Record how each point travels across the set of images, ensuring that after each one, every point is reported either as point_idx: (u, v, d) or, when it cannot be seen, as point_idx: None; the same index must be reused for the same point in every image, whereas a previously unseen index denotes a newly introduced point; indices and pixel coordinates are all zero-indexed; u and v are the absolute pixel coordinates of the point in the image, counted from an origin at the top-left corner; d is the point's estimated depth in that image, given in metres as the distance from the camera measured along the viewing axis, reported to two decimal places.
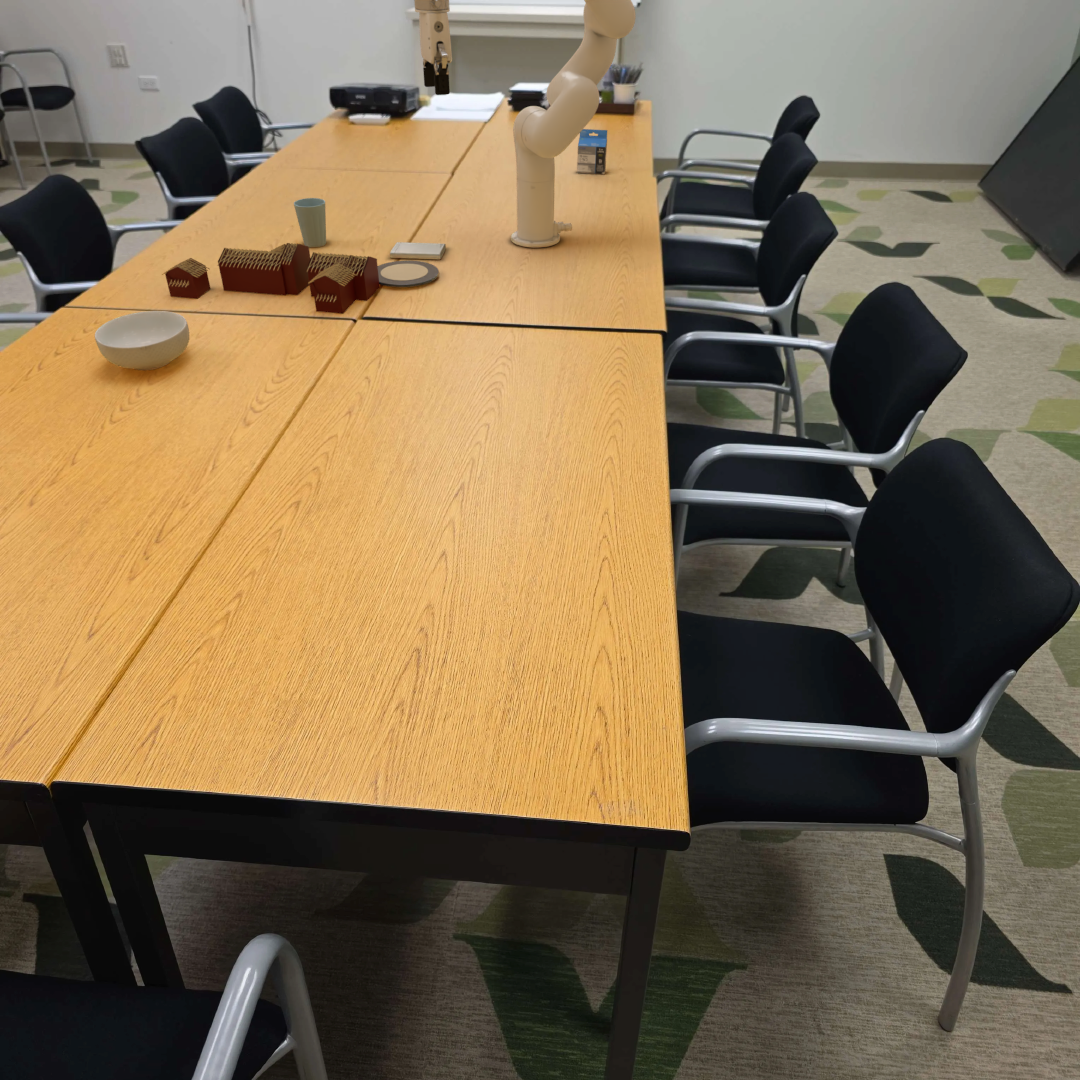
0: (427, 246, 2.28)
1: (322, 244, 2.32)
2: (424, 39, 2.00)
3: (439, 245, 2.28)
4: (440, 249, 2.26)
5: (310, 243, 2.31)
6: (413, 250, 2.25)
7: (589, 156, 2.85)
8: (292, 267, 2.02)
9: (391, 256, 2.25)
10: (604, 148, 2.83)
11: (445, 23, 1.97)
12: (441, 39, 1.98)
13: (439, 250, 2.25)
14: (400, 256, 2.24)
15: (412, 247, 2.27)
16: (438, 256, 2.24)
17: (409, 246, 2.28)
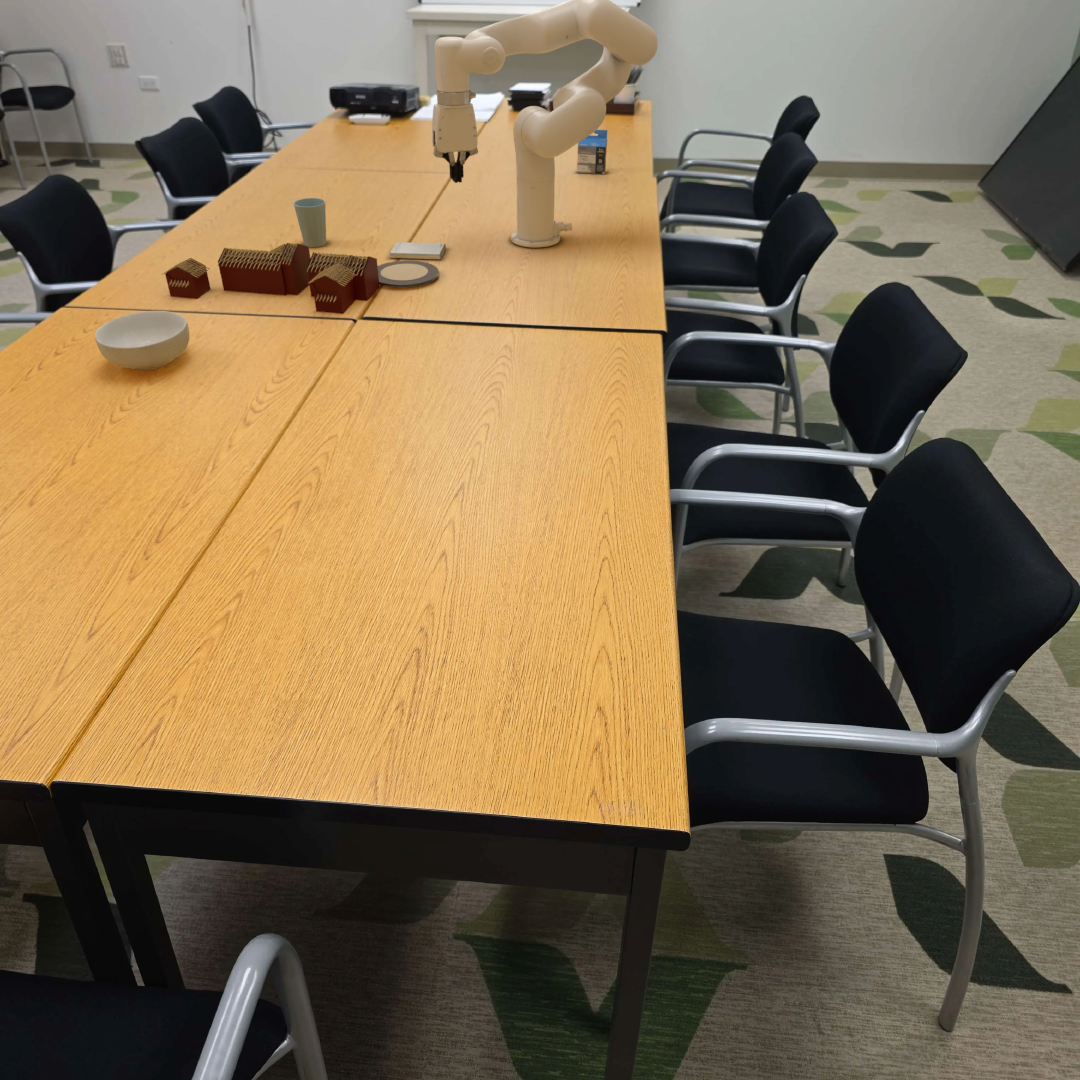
0: (427, 246, 2.28)
1: (322, 244, 2.32)
2: (462, 131, 2.13)
3: (439, 245, 2.28)
4: (440, 249, 2.26)
5: (310, 243, 2.31)
6: (413, 250, 2.25)
7: (589, 156, 2.85)
8: (292, 267, 2.02)
9: (391, 256, 2.25)
10: (604, 148, 2.83)
11: None
12: None
13: (439, 250, 2.25)
14: (400, 256, 2.24)
15: (412, 247, 2.27)
16: (438, 256, 2.24)
17: (409, 246, 2.28)
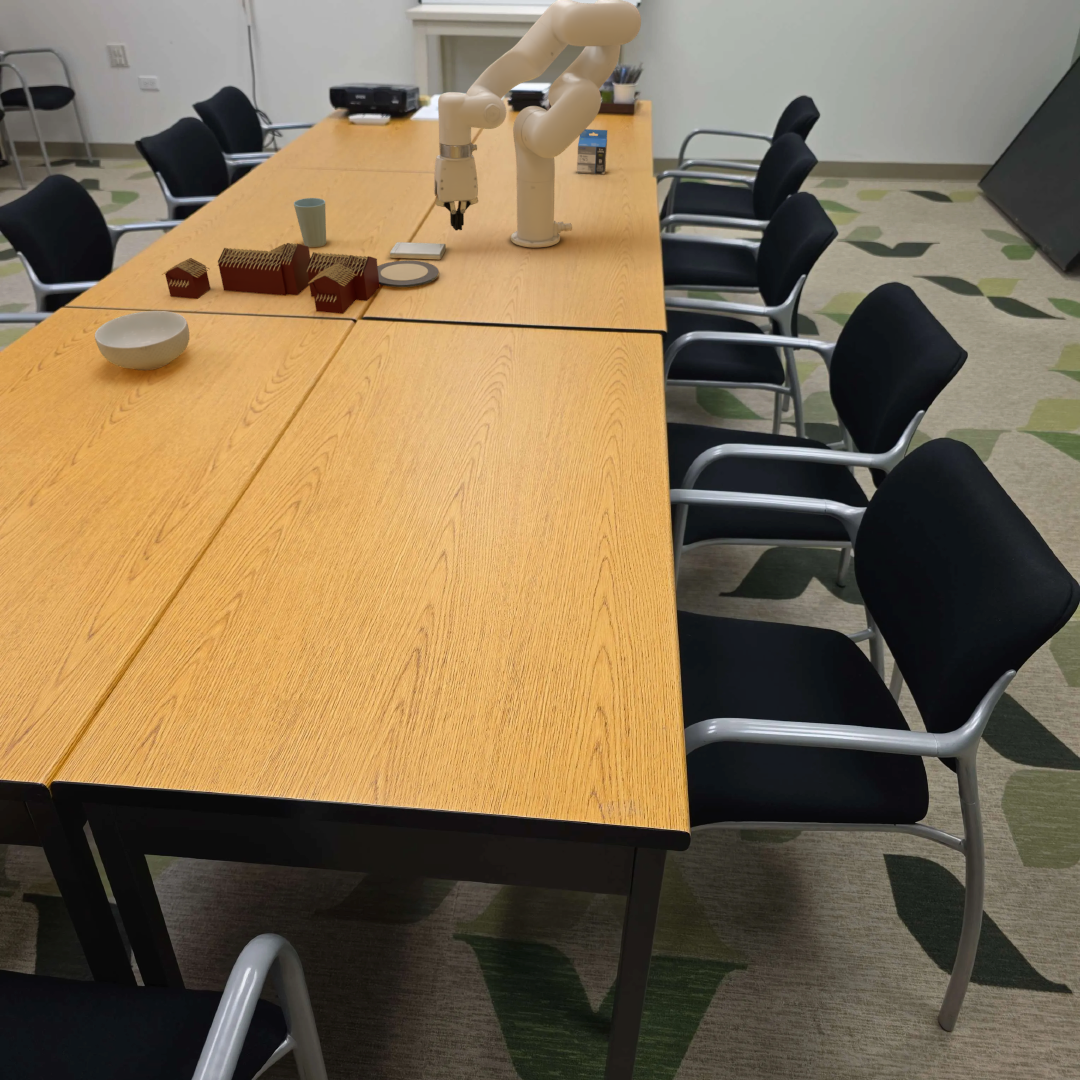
0: (427, 246, 2.28)
1: (322, 244, 2.32)
2: (463, 182, 2.19)
3: (439, 245, 2.28)
4: (440, 249, 2.26)
5: (310, 243, 2.31)
6: (413, 250, 2.25)
7: (589, 156, 2.85)
8: (292, 267, 2.02)
9: (391, 256, 2.25)
10: (604, 148, 2.83)
11: None
12: None
13: (439, 250, 2.25)
14: (400, 256, 2.24)
15: (412, 247, 2.27)
16: (438, 256, 2.24)
17: (409, 246, 2.28)
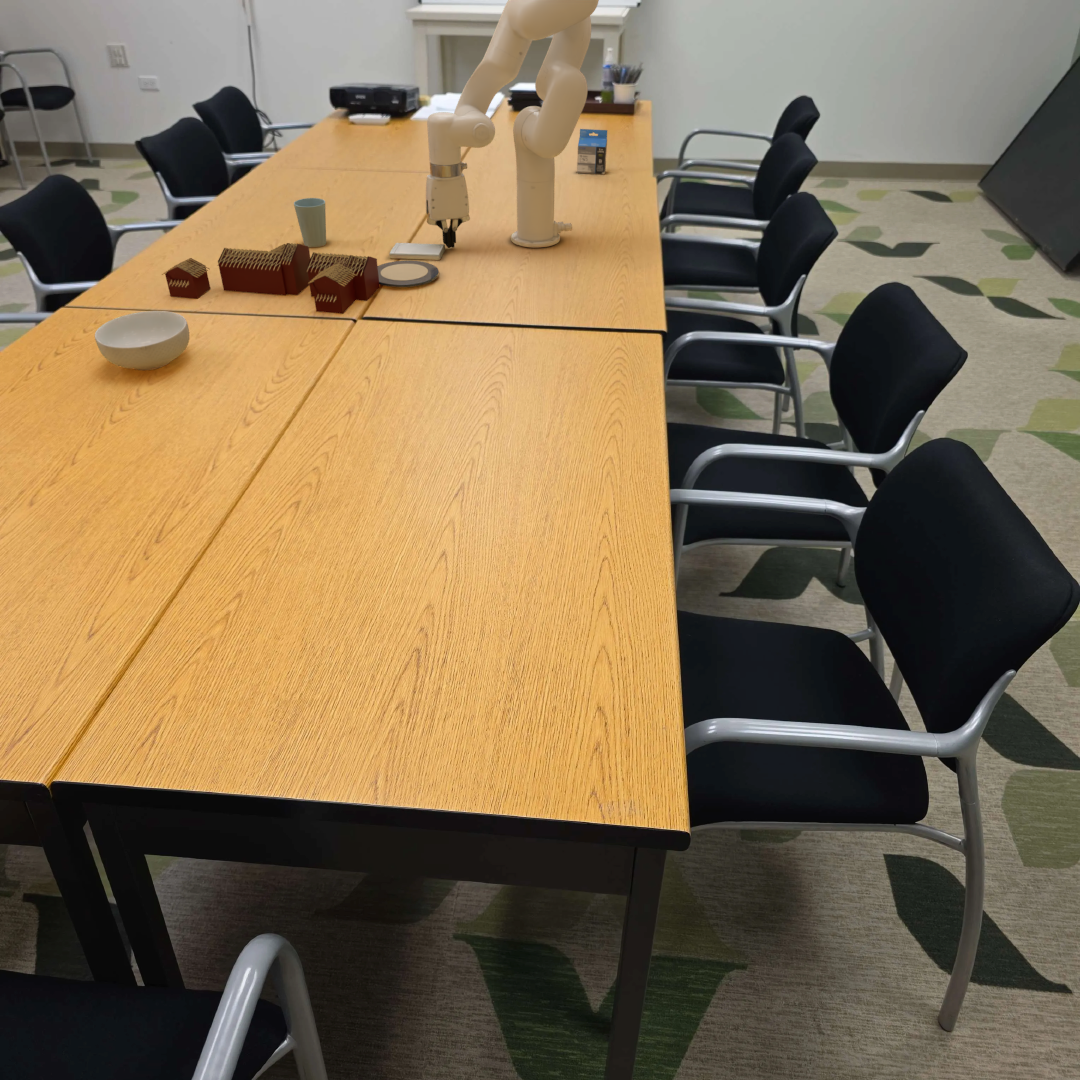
0: (426, 247, 2.28)
1: (322, 244, 2.32)
2: (454, 200, 2.21)
3: (438, 246, 2.28)
4: (439, 250, 2.26)
5: (310, 243, 2.31)
6: (412, 251, 2.25)
7: (589, 156, 2.85)
8: (292, 267, 2.02)
9: (390, 257, 2.25)
10: (604, 148, 2.83)
11: None
12: None
13: (438, 251, 2.25)
14: (399, 257, 2.24)
15: (411, 247, 2.27)
16: (438, 256, 2.24)
17: (409, 247, 2.28)
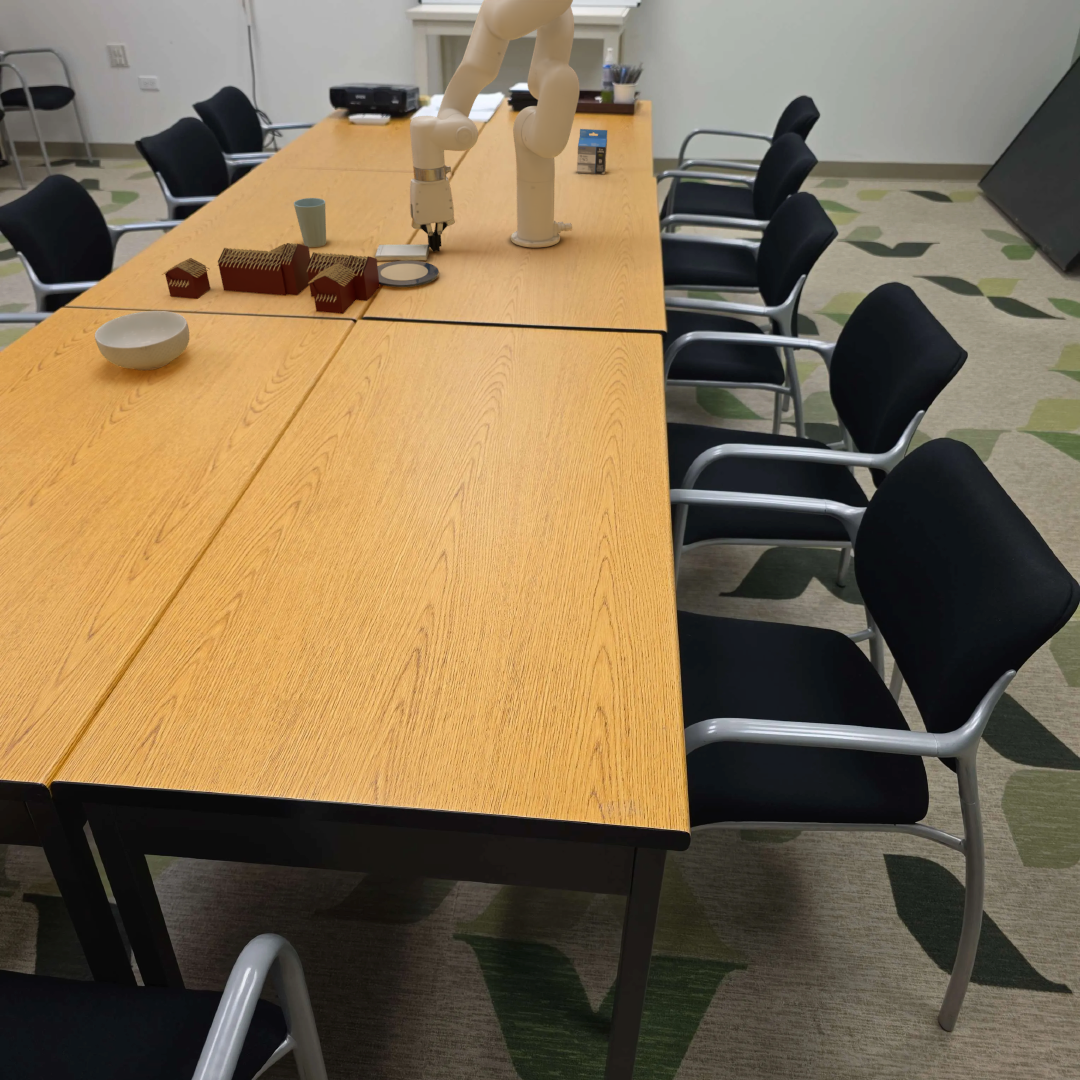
0: (411, 247, 2.27)
1: (322, 244, 2.32)
2: (438, 204, 2.20)
3: (423, 246, 2.28)
4: (425, 250, 2.25)
5: (310, 243, 2.31)
6: (398, 252, 2.24)
7: (589, 156, 2.85)
8: (292, 267, 2.02)
9: None
10: (604, 148, 2.83)
11: None
12: None
13: (424, 251, 2.25)
14: (386, 258, 2.23)
15: (396, 249, 2.26)
16: (425, 257, 2.23)
17: (393, 248, 2.26)
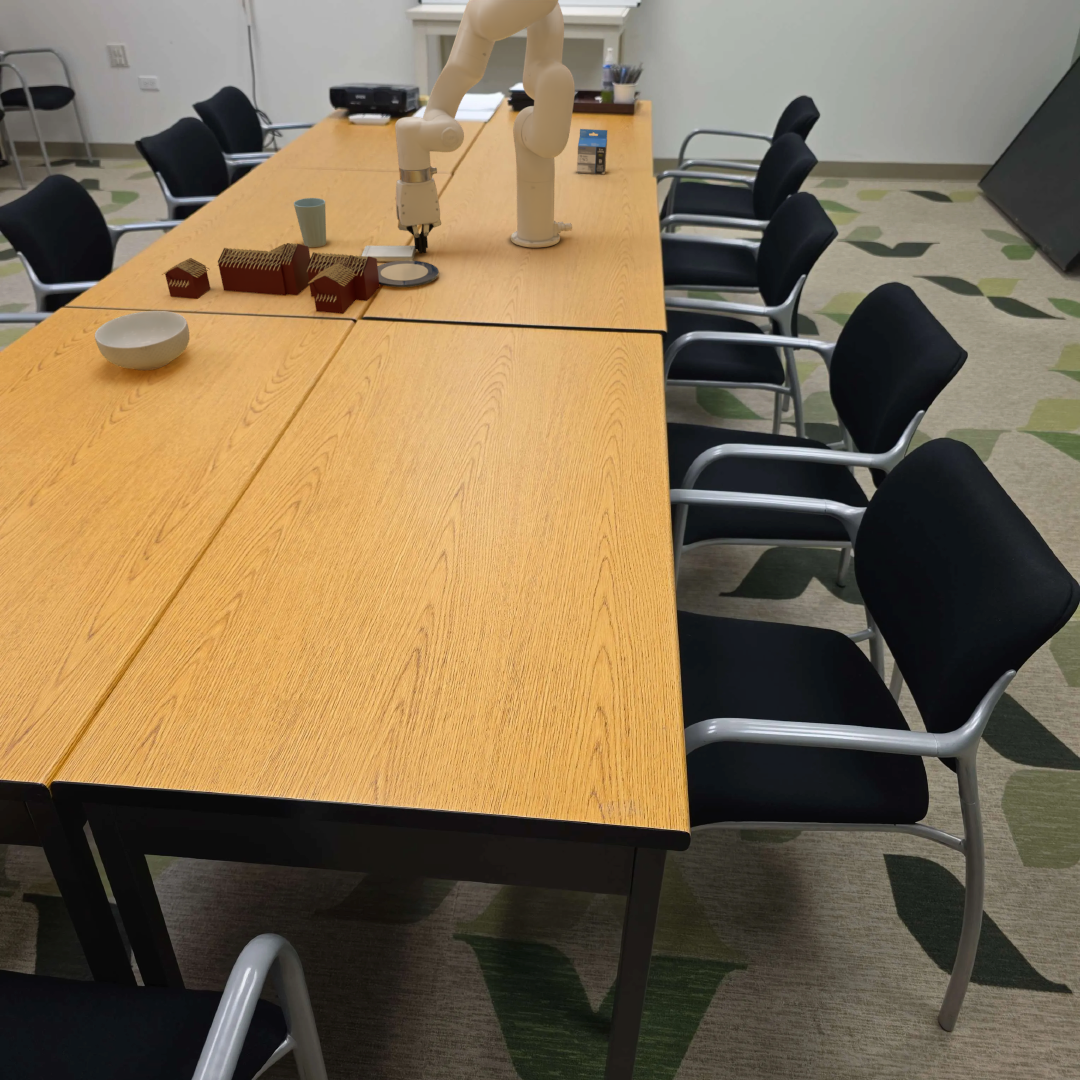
0: (397, 248, 2.26)
1: (322, 244, 2.32)
2: (424, 205, 2.19)
3: (409, 247, 2.27)
4: (411, 251, 2.24)
5: (310, 243, 2.31)
6: (384, 253, 2.23)
7: (589, 156, 2.85)
8: (292, 267, 2.02)
9: None
10: (604, 148, 2.83)
11: None
12: None
13: (410, 252, 2.24)
14: None
15: (382, 250, 2.25)
16: (411, 258, 2.22)
17: (380, 249, 2.26)
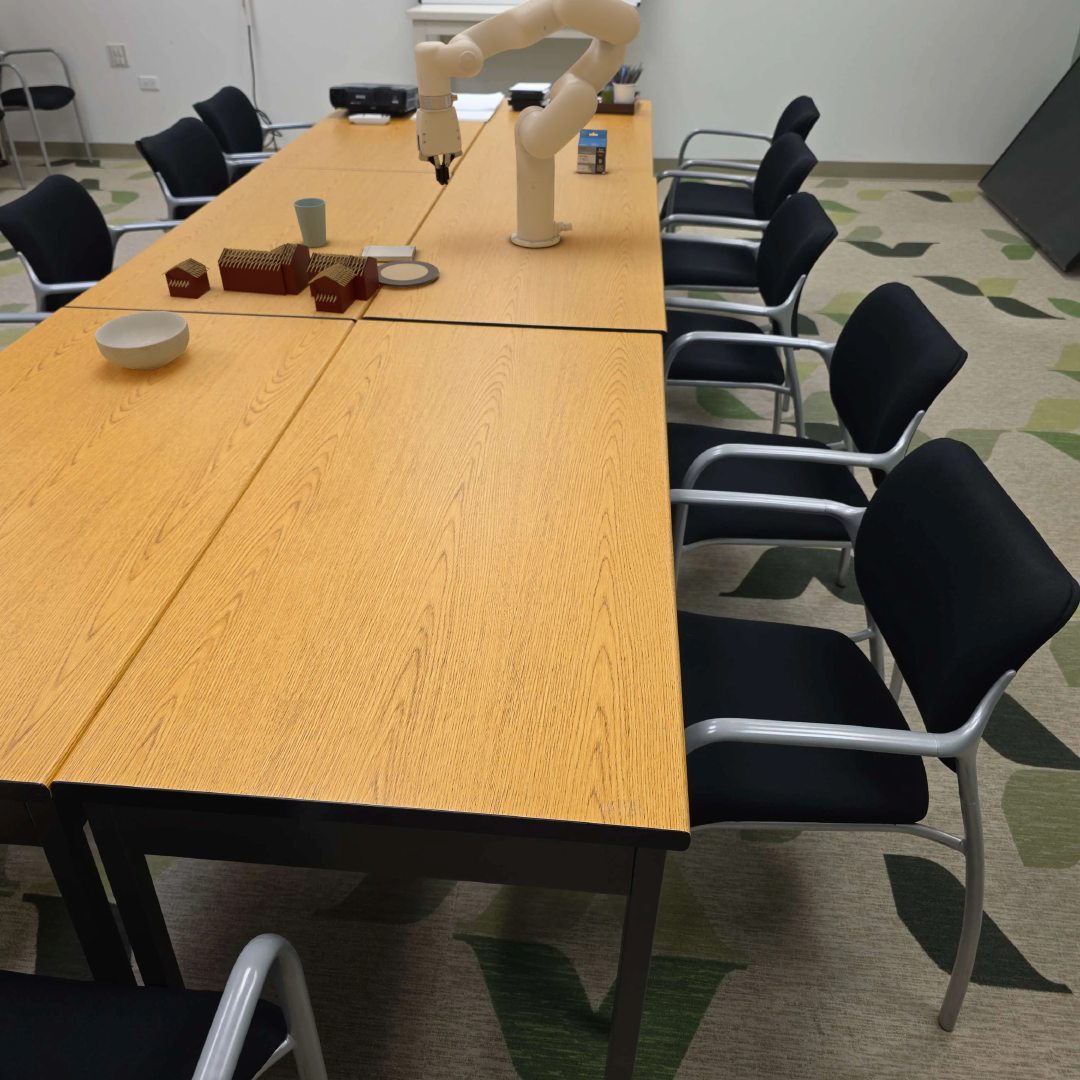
0: (397, 248, 2.26)
1: (322, 244, 2.32)
2: (446, 134, 2.15)
3: (409, 247, 2.27)
4: (411, 251, 2.24)
5: (310, 243, 2.31)
6: (384, 253, 2.23)
7: (589, 156, 2.85)
8: (292, 267, 2.02)
9: None
10: (604, 148, 2.83)
11: None
12: None
13: (410, 252, 2.24)
14: None
15: (382, 249, 2.25)
16: (411, 258, 2.22)
17: (379, 249, 2.26)
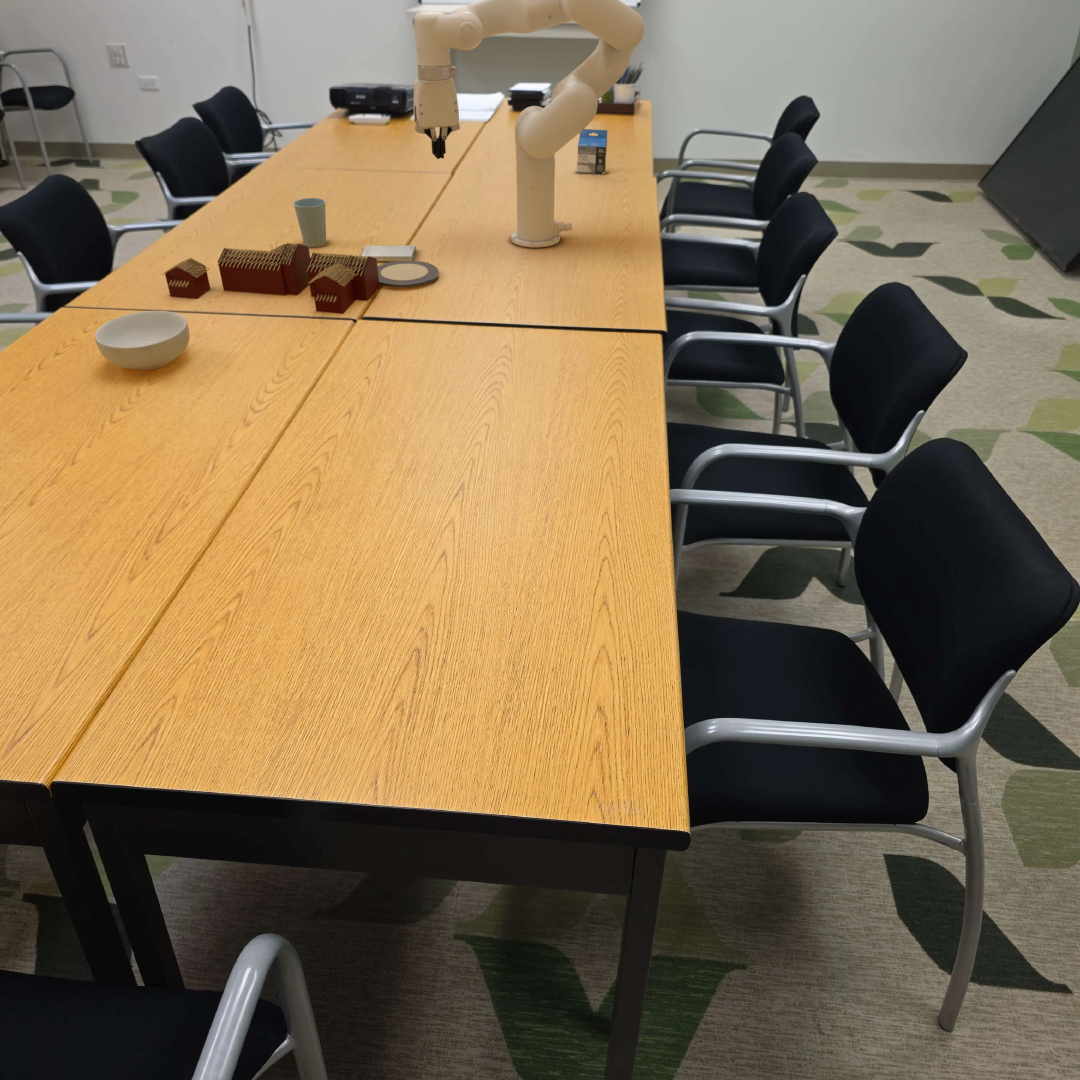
0: (397, 248, 2.26)
1: (322, 244, 2.32)
2: (443, 106, 2.13)
3: (409, 247, 2.27)
4: (411, 251, 2.24)
5: (310, 243, 2.31)
6: (384, 253, 2.23)
7: (589, 156, 2.85)
8: (292, 267, 2.02)
9: None
10: (604, 148, 2.83)
11: None
12: None
13: (410, 252, 2.24)
14: None
15: (382, 249, 2.25)
16: (411, 258, 2.22)
17: (379, 249, 2.26)
